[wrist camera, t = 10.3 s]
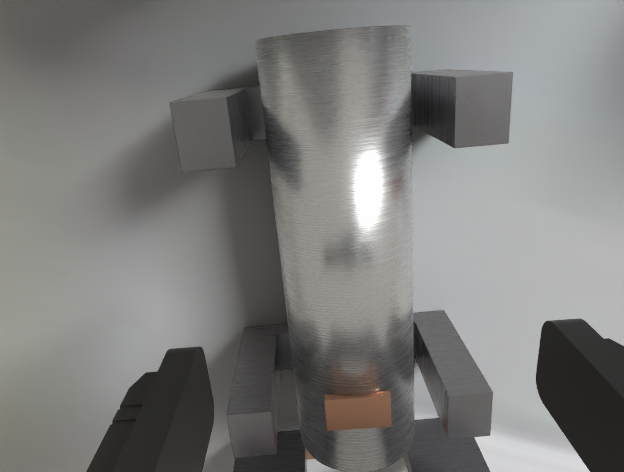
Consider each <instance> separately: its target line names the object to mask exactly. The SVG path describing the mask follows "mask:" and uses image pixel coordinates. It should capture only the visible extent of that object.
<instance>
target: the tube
mask: <svg viewBox="0 0 624 472" xmlns="http://www.w3.org/2000/svg"><path fill="white" fill-rule="evenodd" d="M255 48H256V56H257V65H258V74H259V82H260V91H261V99H262V108H263V116H264V125H265V133H266V142H267V151H268V159H269V168H270V176H271V185H272V193H273V202H274V210H275V219H276V228H277V236H278V245H279V253H280V262H281V270H282V279H283V287H284V296H285V304H286V313H287V322H288V330H289V339H290V347H291V356H292V364H293V373H294V381H295V390H296V399H297V407H298V416H299V424H300V433H301V438H302V442H303V444H304V446H305V448H306V449H307V451H308V452H309V453H310V454H311V455H312V456H313V457H314V458H315V459H316V460H317V461H319V462H321V463H322V464H324V465H326V466H328V467H330V468H333V469H336V470H340V471H345V472H370V471H375V470H379V469H382V468H384V467H387V466H389V465H391V464H393V463H394V462H396V461H397V460H399V459H400V458H401V457H402V456H403V455H404V454H405V453H406V452H407V451H408V449H409V448H410V446H411V444H412V441H413V438H414V342H413V240H412V138H411V36H410V26H376V27H361V28H348V29H337V30H326V31H316V32H307V33H298V34H290V35H282V36H275V37H269V38H264V39H259V40H256V41H255Z"/></svg>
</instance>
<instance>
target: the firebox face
mask: <svg viewBox="0 0 624 472" xmlns="http://www.w3.org/2000/svg"><path fill="white" fill-rule="evenodd" d="M404 458H405V462H406V466H407V469H408V472H490V470H489V468H488V466H487V464H486V462H485V460H484V458H483V455H482V453H481V451H480V449H479V447H478V445H477V443H476V441H475V438H474V437H467V438H456V439H448V438H447V436H446V433H445V431H444V428H443V426H442V423H441V421H440V418H436V419H424V420H414V438H413V441H412V444H411V446H410V448H409V449H408V451H407V452H406V453H405V454H404ZM306 459H315V458H314V457H313V456H312V455H311V454H310V453H309V452H308V451H307V449H306V448H305V446H304V444H303V442H302V438H301V433H300V430H299V431H288V432H278V435H277V454H274V455H263V456H251V457H240V458H235V464H234V470H233V472H307V461H306Z"/></svg>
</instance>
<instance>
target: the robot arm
mask: <svg viewBox="0 0 624 472" xmlns="http://www.w3.org/2000/svg"><path fill="white" fill-rule="evenodd" d="M536 384H537V389H538V393H539V396H540V398H541V400H542V402H543V404H544V405H545V407H546V408H547V410H548V411H549V413H550V414H551V416H552V417H553V418H554V420H555V421H556V423H557V424H558V426H559V427H560V429H561V430H562V432H563V433H564V434H565V436H566V437H567V439H568V440H569V442H570V443H571V445H572V446H573V447H574V449H575V450H576V452H577V453H578V455H579V456H580V458H581V459H582V461H583V462H584V463H585V465H586V466H587V468H588V469H589V471H590V472H624V346H622V345H620V344H618V343H617V342H615V341H613V340H611V339H609V338H608V339H603V338H602V337H601V336H600V335H599V334H598V333H597V332H596V331H595V330H594V329H593V328H592V327H591V326H590V325H589V324H588V323H586V322H585V321H584V320H582V319H567V320H554V321H546V322H545V323H544V324H543V327H542V331H541V339H540V347H539V355H538V363H537V372H536ZM213 420H214V403H213V396H212V391H211V386H210V381H209V375H208V370H207V365H206V360H205V355H204V351H203V349H202V347H190V348H177V349H169V350H168V351H167V352H166V354H165V357H164V359H163V361H162V363H161V366H160V368H159V370H158V372H148V373H145V374H144V375H143V376H142V377H141V378H140V379H139V380H138V381H137V382H135V383H134V384H133V385H132V386H131V387H130V388H129V390H128V392H127V394H126V396H125V398H124V399H123V401H122V403H121V405H120V410H118V411H117V413H116V415H115V417H114V419H113V424H112V425H110V427H109V429H108V431H107V433H106V435H105V437H104V438H103V440H102V442H101V444H100V446H99V448H98V450H97V452H96V454H95V456H94V458H93V460H92V462H91V464H90V466H89V468H88V470H87V472H202V469H203V465H204V461H205V457H206V452H207V448H208V444H209V440H210V436H211V431H212V427H213Z"/></svg>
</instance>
